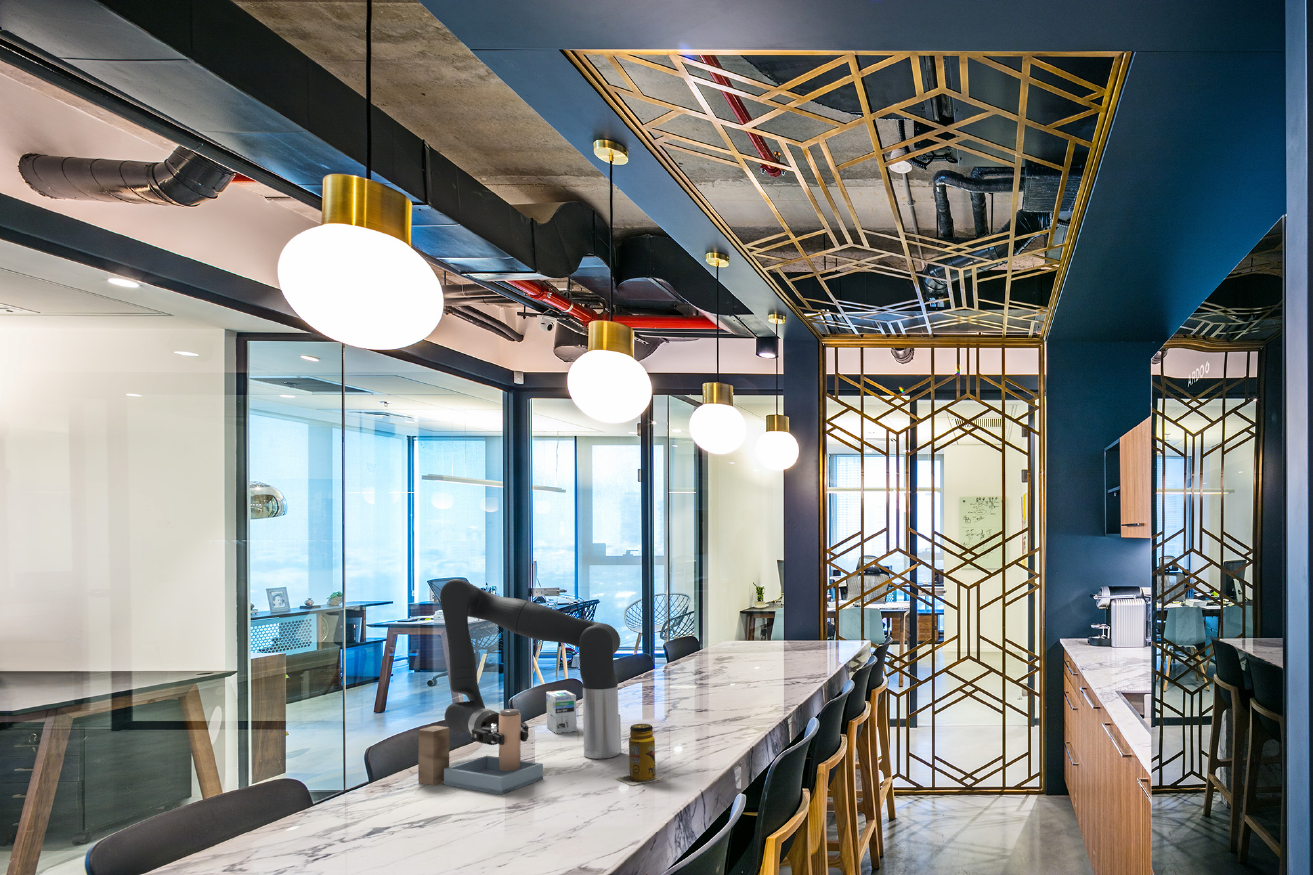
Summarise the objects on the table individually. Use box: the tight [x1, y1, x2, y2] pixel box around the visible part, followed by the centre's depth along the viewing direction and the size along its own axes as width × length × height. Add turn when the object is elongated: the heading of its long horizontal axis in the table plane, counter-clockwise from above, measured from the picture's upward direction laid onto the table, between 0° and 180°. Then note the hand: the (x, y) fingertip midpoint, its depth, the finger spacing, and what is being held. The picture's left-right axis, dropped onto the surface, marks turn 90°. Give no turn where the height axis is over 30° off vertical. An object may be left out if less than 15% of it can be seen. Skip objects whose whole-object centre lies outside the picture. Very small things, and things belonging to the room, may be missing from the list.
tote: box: [443, 755, 544, 795], centre depth 196 cm, size 14×18×4 cm
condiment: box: [615, 723, 663, 786], centre depth 194 cm, size 7×8×12 cm
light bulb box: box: [545, 689, 578, 734], centre depth 251 cm, size 11×7×11 cm, turn 23°
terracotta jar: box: [498, 708, 522, 771], centre depth 195 cm, size 5×5×13 cm
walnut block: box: [417, 725, 450, 786], centre depth 198 cm, size 5×5×12 cm
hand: (514, 738), depth 193 cm, fingers closed on terracotta jar, 5 cm apart
